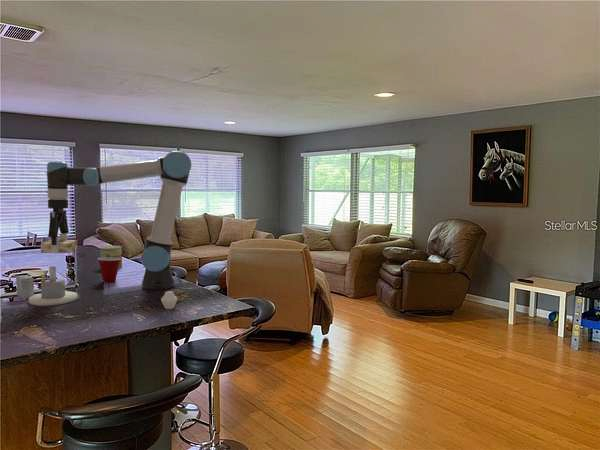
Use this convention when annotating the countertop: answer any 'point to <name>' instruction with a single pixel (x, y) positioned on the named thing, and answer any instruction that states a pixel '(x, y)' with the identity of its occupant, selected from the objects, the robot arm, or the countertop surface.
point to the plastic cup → (109, 268)
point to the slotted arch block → (60, 246)
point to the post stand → (52, 291)
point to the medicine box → (24, 286)
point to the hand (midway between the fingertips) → (59, 250)
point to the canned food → (112, 253)
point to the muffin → (169, 300)
